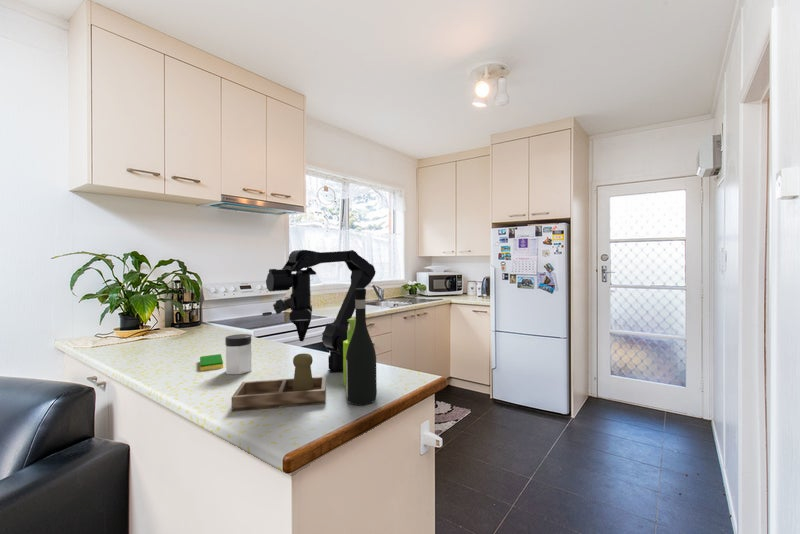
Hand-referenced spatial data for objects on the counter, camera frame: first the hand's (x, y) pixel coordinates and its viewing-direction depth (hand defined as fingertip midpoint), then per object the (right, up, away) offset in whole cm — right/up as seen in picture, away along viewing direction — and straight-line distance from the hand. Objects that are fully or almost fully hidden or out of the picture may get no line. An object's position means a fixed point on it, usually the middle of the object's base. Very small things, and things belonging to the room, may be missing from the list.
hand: (302, 338), depth 117 cm
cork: (+5, -13, -16) cm, 21 cm away
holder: (-1, -13, -17) cm, 22 cm away
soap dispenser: (+17, -13, -6) cm, 22 cm away
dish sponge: (-38, -14, +17) cm, 44 cm away
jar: (-24, -13, +9) cm, 29 cm away
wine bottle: (+21, -13, -19) cm, 31 cm away
